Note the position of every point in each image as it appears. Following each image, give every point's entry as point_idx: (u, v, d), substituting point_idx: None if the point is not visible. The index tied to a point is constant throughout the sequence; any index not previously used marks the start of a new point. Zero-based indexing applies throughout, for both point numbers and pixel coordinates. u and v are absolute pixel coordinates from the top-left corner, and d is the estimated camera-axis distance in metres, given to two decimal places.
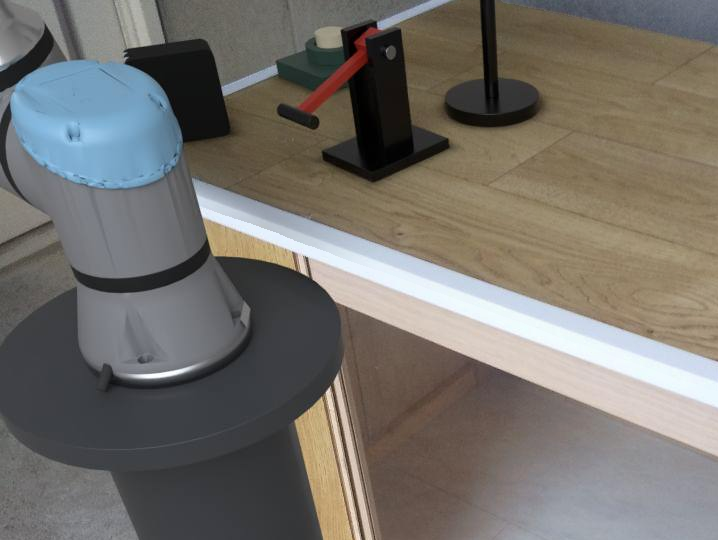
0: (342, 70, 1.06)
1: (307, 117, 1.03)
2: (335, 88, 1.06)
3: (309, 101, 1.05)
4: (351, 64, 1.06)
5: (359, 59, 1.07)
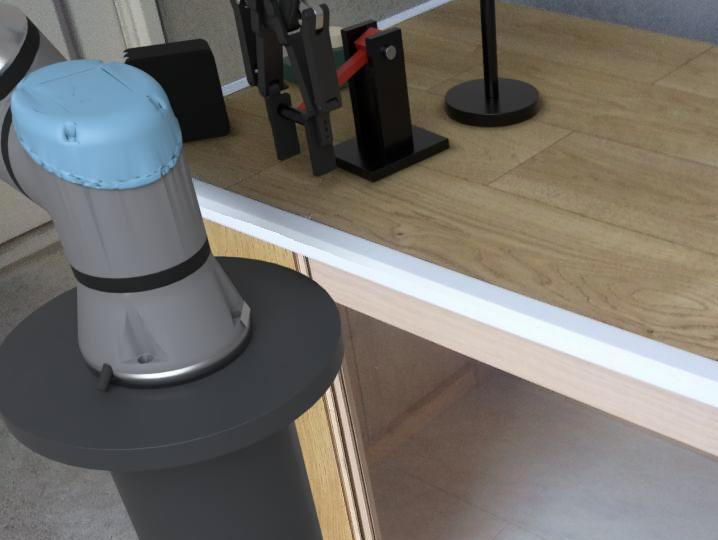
0: (342, 70, 1.06)
1: None
2: None
3: None
4: (351, 64, 1.06)
5: (359, 59, 1.07)
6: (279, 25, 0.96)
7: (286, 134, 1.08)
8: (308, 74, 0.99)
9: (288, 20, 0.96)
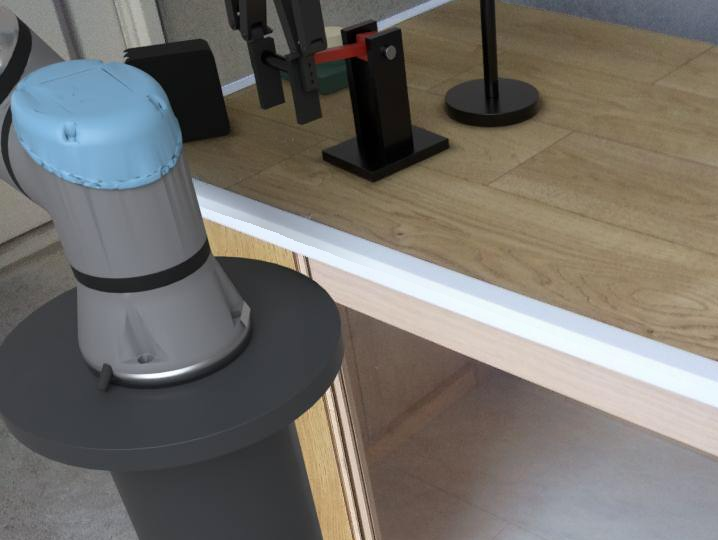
0: (338, 48, 1.05)
1: None
2: (327, 59, 1.04)
3: None
4: (349, 47, 1.05)
5: (358, 48, 1.06)
6: None
7: (270, 81, 1.04)
8: (292, 13, 0.95)
9: None
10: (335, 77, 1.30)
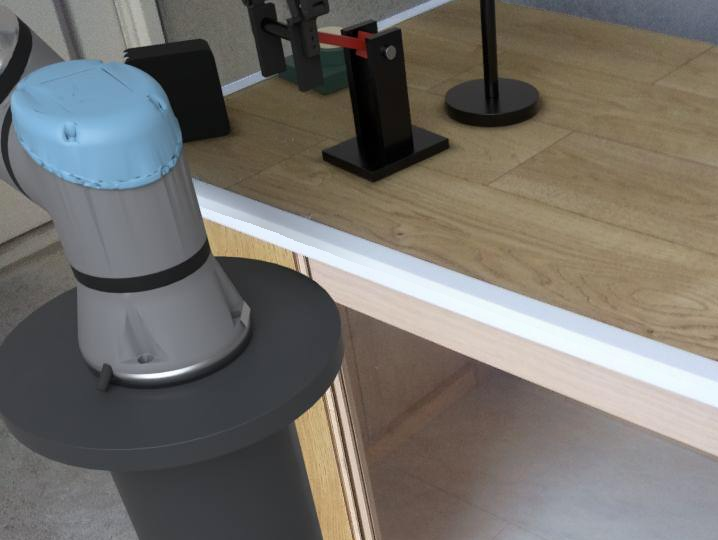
0: (340, 35, 1.04)
1: None
2: (327, 41, 1.03)
3: None
4: (350, 38, 1.05)
5: (359, 41, 1.06)
6: None
7: (271, 48, 1.02)
8: None
9: None
10: (335, 77, 1.30)
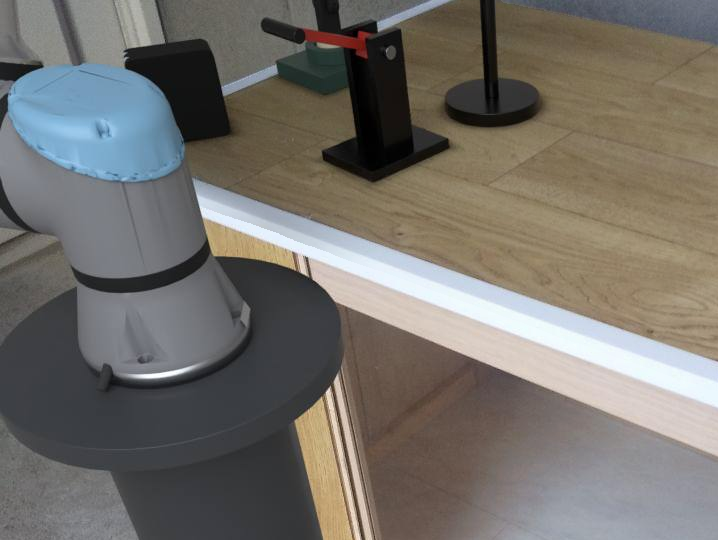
0: (340, 35, 1.04)
1: (296, 27, 0.98)
2: (327, 41, 1.03)
3: (299, 28, 1.00)
4: (350, 38, 1.05)
5: (359, 41, 1.06)
6: None
7: None
8: None
9: None
10: (335, 77, 1.30)
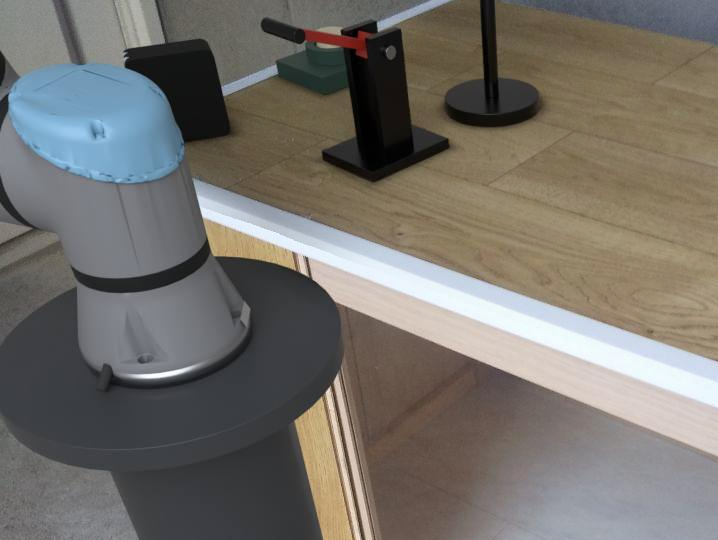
0: (340, 35, 1.04)
1: (296, 27, 0.98)
2: (327, 41, 1.03)
3: (299, 28, 1.00)
4: (350, 38, 1.05)
5: (359, 41, 1.06)
6: None
7: None
8: None
9: None
10: (335, 77, 1.30)
